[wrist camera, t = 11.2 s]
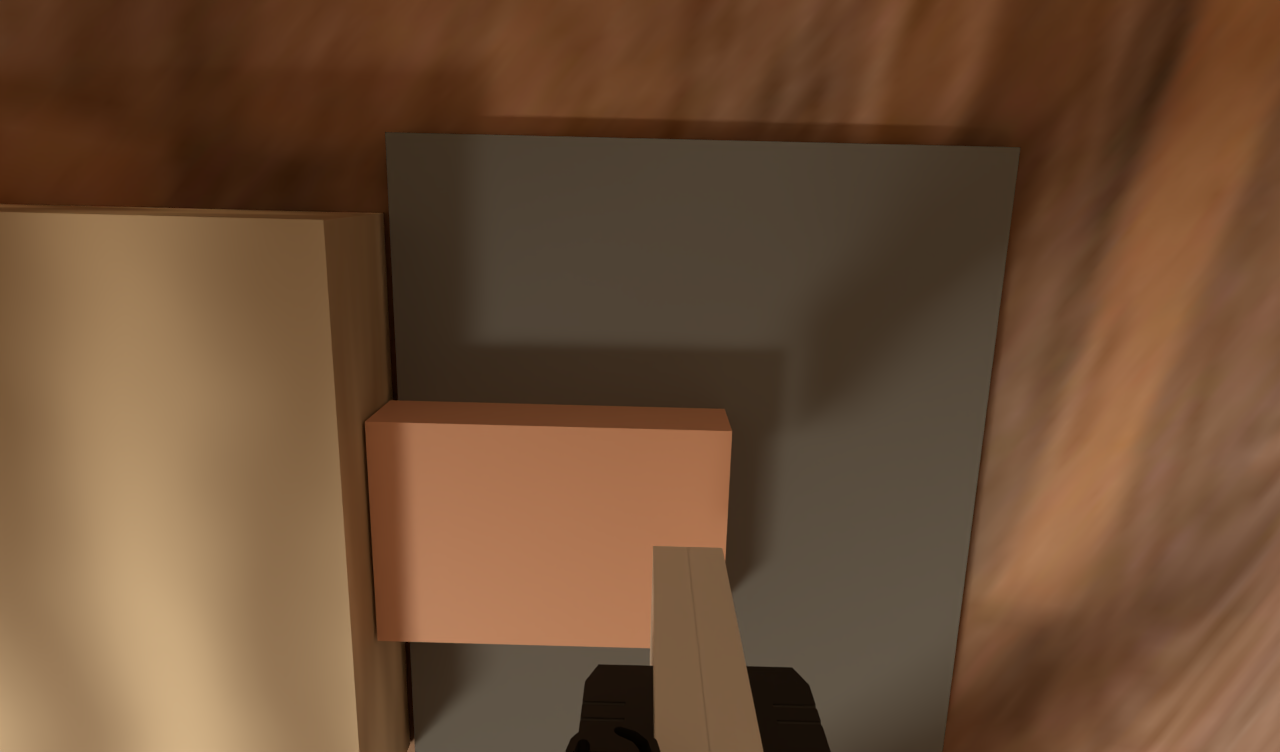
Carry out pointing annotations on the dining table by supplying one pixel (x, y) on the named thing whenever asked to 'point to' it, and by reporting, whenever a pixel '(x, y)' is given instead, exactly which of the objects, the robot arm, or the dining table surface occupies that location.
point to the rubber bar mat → (727, 385)
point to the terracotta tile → (536, 517)
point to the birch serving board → (192, 482)
